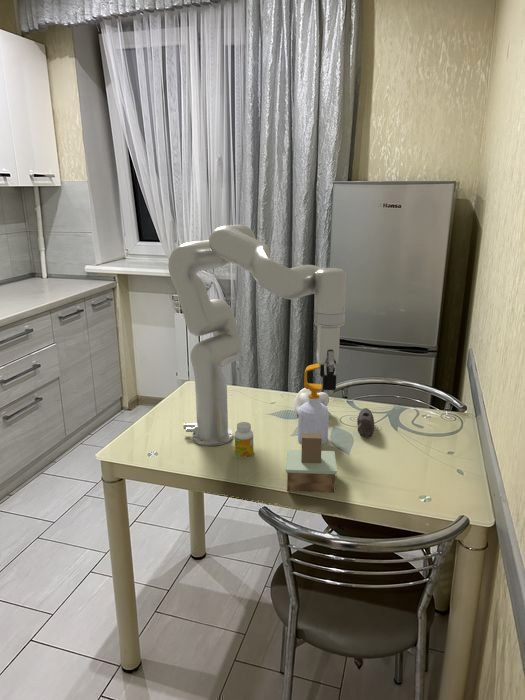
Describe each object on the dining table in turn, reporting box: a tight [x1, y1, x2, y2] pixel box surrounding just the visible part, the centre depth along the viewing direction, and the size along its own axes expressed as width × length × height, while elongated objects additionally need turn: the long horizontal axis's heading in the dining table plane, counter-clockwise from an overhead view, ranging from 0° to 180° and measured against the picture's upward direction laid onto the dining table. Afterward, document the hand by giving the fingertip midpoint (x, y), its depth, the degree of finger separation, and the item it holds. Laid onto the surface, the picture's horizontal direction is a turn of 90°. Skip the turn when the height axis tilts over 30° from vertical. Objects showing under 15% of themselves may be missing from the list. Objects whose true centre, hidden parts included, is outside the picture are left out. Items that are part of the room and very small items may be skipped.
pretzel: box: [293, 387, 330, 417], centre depth 179 cm, size 11×12×9 cm
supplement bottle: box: [234, 421, 254, 459], centre depth 152 cm, size 5×5×10 cm
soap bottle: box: [297, 362, 330, 446], centre depth 159 cm, size 9×9×25 cm
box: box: [286, 473, 336, 494], centre depth 138 cm, size 12×10×6 cm
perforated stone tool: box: [356, 407, 375, 439], centre depth 168 cm, size 15×5×7 cm, turn 169°
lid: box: [285, 433, 338, 475], centre depth 136 cm, size 13×11×8 cm
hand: (327, 382), depth 137 cm, fingers open, 9 cm apart
